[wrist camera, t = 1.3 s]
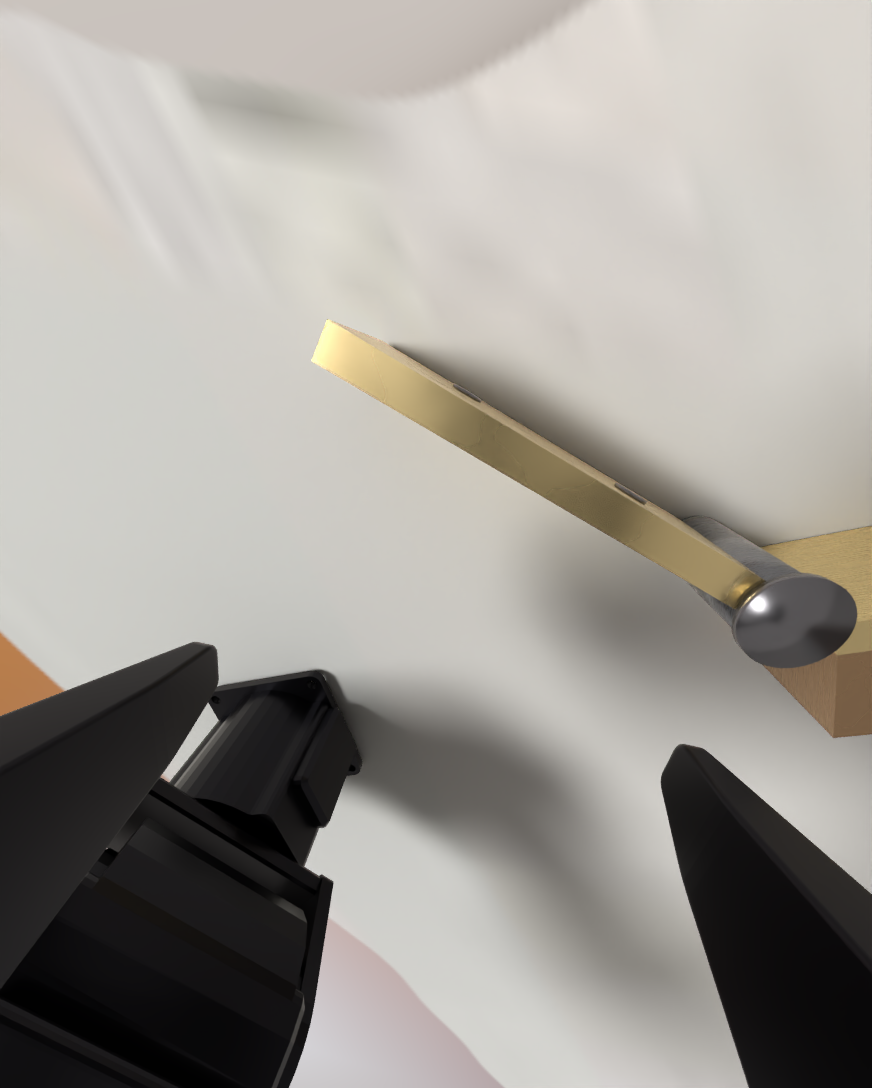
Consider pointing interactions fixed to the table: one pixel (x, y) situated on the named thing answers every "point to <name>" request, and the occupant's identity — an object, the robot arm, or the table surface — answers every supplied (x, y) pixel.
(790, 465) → the table surface
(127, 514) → the table surface
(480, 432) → the swing leaf
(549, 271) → the table surface
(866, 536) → the block
